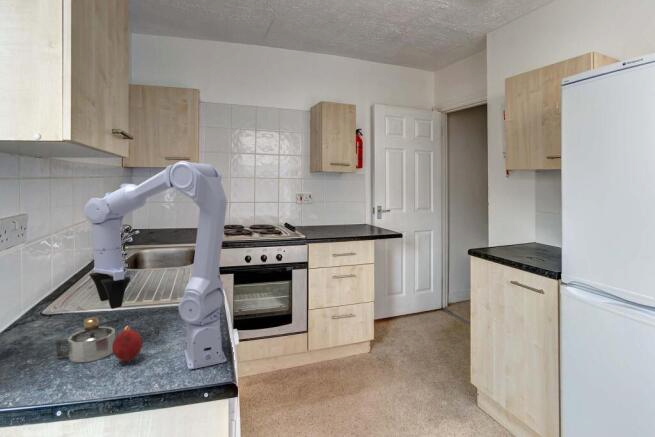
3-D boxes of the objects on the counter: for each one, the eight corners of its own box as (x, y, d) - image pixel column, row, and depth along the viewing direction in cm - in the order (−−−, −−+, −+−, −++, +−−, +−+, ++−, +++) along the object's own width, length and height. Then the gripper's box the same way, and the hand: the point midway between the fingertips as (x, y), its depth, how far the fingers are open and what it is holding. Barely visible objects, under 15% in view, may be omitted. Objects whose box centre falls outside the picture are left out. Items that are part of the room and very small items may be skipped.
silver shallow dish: (114, 357, 81) (113, 338, 80) (53, 368, 76) (51, 348, 75) (117, 341, 89) (116, 324, 88) (62, 351, 84) (60, 332, 83)
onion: (139, 365, 77) (138, 330, 76) (109, 369, 75) (107, 333, 75) (145, 353, 82) (143, 320, 82) (117, 357, 81) (115, 323, 80)
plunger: (106, 340, 81) (105, 321, 81) (74, 346, 78) (73, 326, 78) (108, 331, 86) (107, 312, 86) (79, 335, 84) (77, 317, 83)
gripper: (137, 250, 82) (139, 306, 84) (116, 242, 92) (118, 293, 94) (102, 254, 77) (106, 314, 79) (84, 246, 87) (87, 300, 88)
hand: (110, 303), depth 86 cm, fingers open, 7 cm apart
